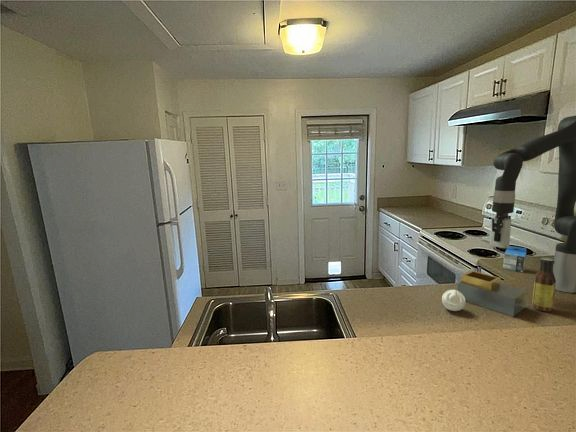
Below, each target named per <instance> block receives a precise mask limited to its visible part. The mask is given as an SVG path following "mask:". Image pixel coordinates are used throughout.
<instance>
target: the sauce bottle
mask: <svg viewBox="0 0 576 432" xmlns="http://www.w3.org/2000/svg"><path fill="white" fill-rule="evenodd" d="M539 263H540V264H539V265H540V267H539V270H538V271H537V272H536V273H535V277H534V282H533V292H532V301H531V302H532V305H531V306H532V307H533V309H535V310H537V311H540V312H548V313H549V312H553V311H552V310H553V307H554V303H555V301H554V300H555V294H556V293H555V292H556V289H555V285H556V280H555V276H554V273H553V264H554V258H553V259H552V258H549V257H541V258H540V259H539Z"/></svg>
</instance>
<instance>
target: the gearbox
mask: <svg viewBox="0 0 576 432" xmlns="http://www.w3.org/2000/svg"><path fill="white" fill-rule="evenodd" d="M501 281H502V278H501V277H498V276H494V275H491V274H487V273H482V272H478V271H477V270H476V271H474V270H469V271H467V272H465V273H463V274H462V275H461V280H460V281H458V283H457V291H459V292H460V293H462V294H463V296H464V297H465V302H467V303H470V304H472V305H473V304H474V305H476V306H480V307H482V308H485V309H488V310H490V311H491V310H492V311H494V312H497V313H500V314H503V315H506V316H509V317H514V316H516V315H517V314H518V313H520V312H521V311H522V310H524V309H525V308H526V301H527V299H526V298H527V290H524V289H522V288H518V287H514V286H510V285H506V284H503V283H501Z"/></svg>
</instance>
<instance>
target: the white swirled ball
mask: <svg viewBox="0 0 576 432" xmlns="http://www.w3.org/2000/svg"><path fill="white" fill-rule="evenodd" d="M441 302H442V304H443V306H444V307H445V308H446V309H447V310H449V311H453V312H458V311H461V310H462V309H464V308H465V306H466V301H465V297H464V296H463V294H462V293H460V292H459V291H458V290H456V289H448V290H446V291H445V292H444V293H443V294H442V296H441Z"/></svg>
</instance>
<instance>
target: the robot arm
mask: <svg viewBox="0 0 576 432" xmlns="http://www.w3.org/2000/svg"><path fill="white" fill-rule="evenodd" d="M556 148H558V174H557V178H558V179H557V181H558V182H557V183H558V184H557V185H558V187H557V203H556V210H555V214H554V219H553V220H554V221H553V226H554V228H553V229H554V230H555V232H556V233H557V234H560V235H562V236H566V240H565V242H559V243H557V244H556V245H555V250H554V251H555V252H554V256H553V257H554V258H553V260H554V264H553V273H554V276H555V280H556V285H555V291H558V292H564V293H570V294H572V293H573V294H574V293H575V294H576V215H575V206H576V115H571V116H570V115H569V116H566V117H564V118H562V119H560V121H559V123H558V126H557V129H556V131H553V132H550V133H548V134H545V135H542V136H538V137H536V138H533V139H531V140H529V141H528V142H525V143H523V144H522V145H519V146H517V147H515V148H512V149H509V150H506V151H503V152H501V153H499V154H498V155H497V156H495V158H494V159H493V164H492V165H493V167H494V168H495V169H497V170H498V171H503V172H502V175H500V176H497V177H496V179H495V184H494V192H493V198H492V206H491V211H492V212H493V213H495V216H494V218H495V219H494V218H491V219H492V231H493V232H495V234H494V241H497V242H500V239H501V231H502V228H503V225H504V223H502V220H506V219H507V220H511V221H512V219H511V218H512V215H509V214H513V213H514V210H515V202H516V201H515V200H516V185H517V180H518V178H519V175H520V173H521V171H522V168H523V165H524V162H529V161H531V160H533V159H536V158H538V157H539V156H541V155H543V154H546V153H547V152H549V151H551V150H554V149H556ZM500 224H502V225H501V226H500Z"/></svg>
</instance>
